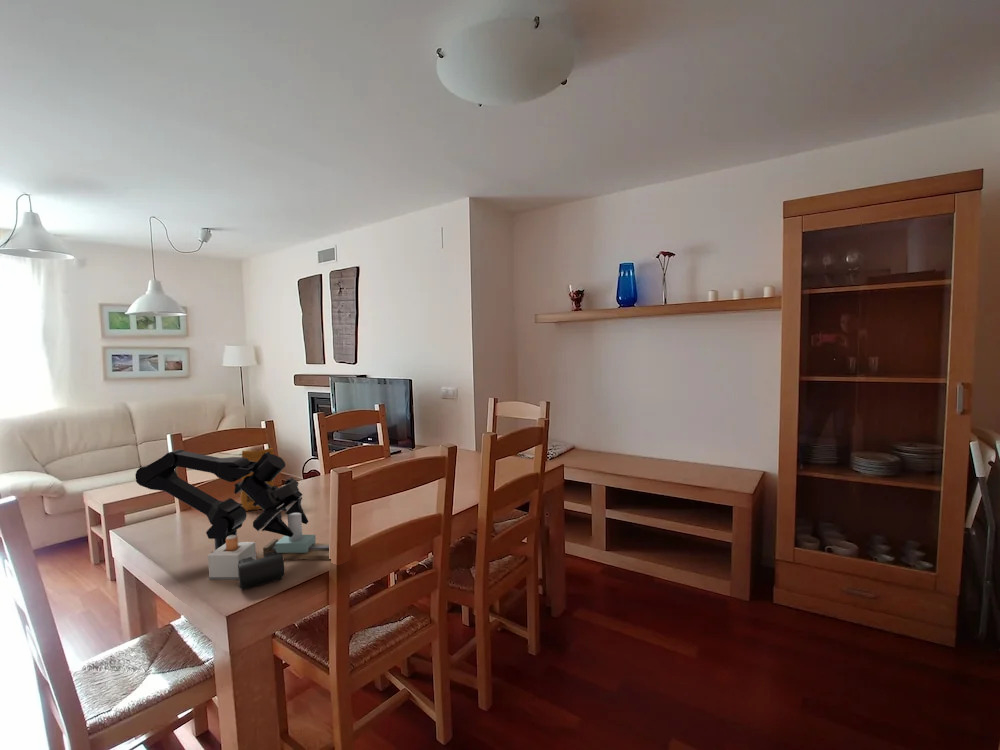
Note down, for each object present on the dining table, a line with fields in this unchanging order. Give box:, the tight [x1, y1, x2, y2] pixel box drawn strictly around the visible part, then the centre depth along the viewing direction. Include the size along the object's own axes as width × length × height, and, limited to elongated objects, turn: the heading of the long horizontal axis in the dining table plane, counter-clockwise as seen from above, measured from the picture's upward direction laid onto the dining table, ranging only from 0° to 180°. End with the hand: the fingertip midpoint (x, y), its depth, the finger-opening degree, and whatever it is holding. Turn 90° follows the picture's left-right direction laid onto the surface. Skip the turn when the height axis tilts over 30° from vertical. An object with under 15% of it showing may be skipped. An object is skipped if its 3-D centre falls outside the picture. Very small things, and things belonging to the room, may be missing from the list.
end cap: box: [238, 551, 285, 591], centre depth 118 cm, size 10×7×7 cm
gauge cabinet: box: [207, 541, 257, 581], centre depth 124 cm, size 8×8×6 cm
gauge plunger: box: [226, 534, 239, 551], centre depth 124 cm, size 3×3×4 cm
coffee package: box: [239, 447, 275, 512], centre depth 175 cm, size 10×12×22 cm
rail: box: [262, 538, 330, 561], centre depth 135 cm, size 21×8×3 cm, turn 88°
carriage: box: [275, 513, 317, 553], centre depth 135 cm, size 9×6×10 cm, turn 88°
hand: (300, 529), depth 135 cm, fingers open, 9 cm apart
